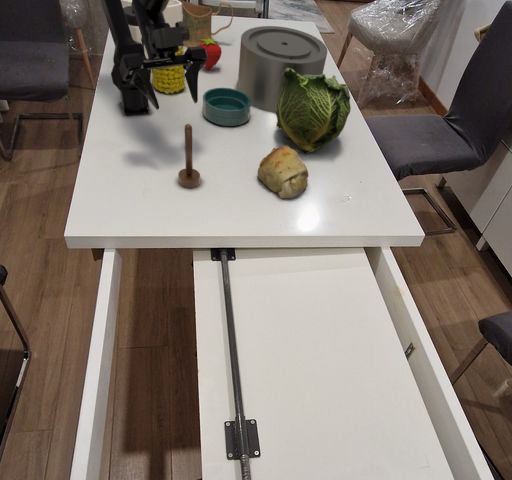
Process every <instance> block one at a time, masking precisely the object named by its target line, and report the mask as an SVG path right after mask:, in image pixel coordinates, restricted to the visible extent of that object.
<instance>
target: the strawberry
mask: <svg viewBox="0 0 512 480" xmlns="http://www.w3.org/2000/svg"><path fill="white" fill-rule="evenodd" d="M208 36H209V35H208ZM201 40H203V41H205V42H201V43H200V44H199V45H198V46H203V47H204V48H205V50H206V51H207V55H208V58H209V59H208V60H207V62H206V63H205V64H204V67H205V68H206V70H208V71H211V70H213V68H214V67H215V66H216V65H217V64H218V62H219V61H220V59H221V56H222V53H223V51H222V47H221V45H220V44H218V42H219V41H218V40H215V39H213V38H212V39H210V38H208V39H201Z"/></svg>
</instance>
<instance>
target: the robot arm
mask: <svg viewBox="0 0 512 480" xmlns="http://www.w3.org/2000/svg"><path fill="white" fill-rule="evenodd" d="M168 2H169V0H132V3H131V4H132V7H131V9H132V13H133V14H135V17H136V20H137V23H138V26H139V29H140V32H141V35H142V38H141V42H142V45H145V48H146V51H147V54H148V57H149V59H146V56H145V53H144V49H143V46H142V45H141V44H140V43H138V44H137V43H136V42H135V41H134V40H133V38H132V35H131V32H130V29H129V25H128V22H127V19H126V16H125V12H124V9H123V6H122V3H121V0H100V4H101V7H102V10H103V13H104V16H105V19H106V22H107V25H108V28H109V31H110V34H111V37H112V41H113V43H114V52H113V58H112V60H113V67H112V70H111V73H110V74H111V80H112V83H113V85H114V86H115V87H116V88H117V89H118V91H119V97H120V101H119V106H120V107H121V110H122V111H123V113H124V115H125V116H133V115H143V114H145V115H146V114H149V113H150V110H149V109H148V108H149V107H150V104H151V105H152V106H153V107H154V108H155V110H157V111H158V110H159V109H160V105H159V100H158V98H157V96H156V93H155V90H154V86H153V84H152V82H151V79H152V72H151V71H152V69H160V68H168V67H175V66H183V68H184V71H185V74H184V76H185V82H186V84H187V88H188V90H189V93H190V96H191V99H192V101H193V104H197V103H198V100H199V97H198V94H199V92H198V91H199V73H200V71H201V70H202V69H203V67H205V65H204V64H205V63H206V62H207V60H208V59H209V58H208V55H207V51H206V50H205V48H204V47H203V46H196V47H187V48H186V49H185V51H184V54H183V55H175V52H178V50H179V47H178V46H183V47H184V46H185V45H183V41H187V40H189V39H190V33H189V29H188V26H187V23H186V21H179V22H176V23H175V27H170V25H169V23H166V22H165V18H164V15H163V11H164V10H165V8H166V7H167V5H168ZM149 102H150V103H149Z"/></svg>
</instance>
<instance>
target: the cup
mask: <svg viewBox="0 0 512 480" xmlns="http://www.w3.org/2000/svg"><path fill="white" fill-rule="evenodd" d="M163 15H164V18H165V22H166V23H169V25H170V27H175V23H176V22H179V21H182V19H183V16H182V1H181V0H169V2H168V5H167V7H166V8H165V10H164V11H163Z"/></svg>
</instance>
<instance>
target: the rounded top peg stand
mask: <svg viewBox="0 0 512 480" xmlns="http://www.w3.org/2000/svg"><path fill="white" fill-rule="evenodd" d="M184 156H185V158H184V159H185V160H184V161H185V168H183V169H181V170H179V171H178V184H179V185H180V186H181V187H183V188H185V189H195V188H197V187H198V186H200V184H201V173H200V172H199V171H198V170H197V169H195V168H194V166H193V165H194V164H193V162H194V161H193V126H192V125H191V124H190V123H187V124H185V125H184Z"/></svg>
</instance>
